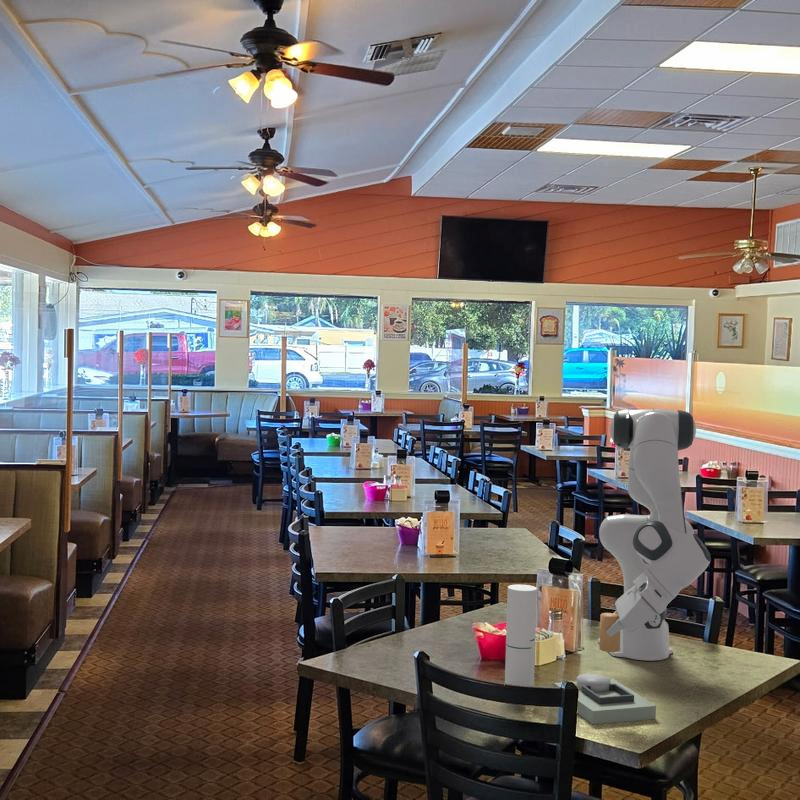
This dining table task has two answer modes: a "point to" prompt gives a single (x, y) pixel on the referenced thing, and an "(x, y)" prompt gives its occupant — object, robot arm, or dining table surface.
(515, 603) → the cylindrical container
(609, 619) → the orange cylinder
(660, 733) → the dining table surface
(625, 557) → the robot arm
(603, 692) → the stepped grey tray
